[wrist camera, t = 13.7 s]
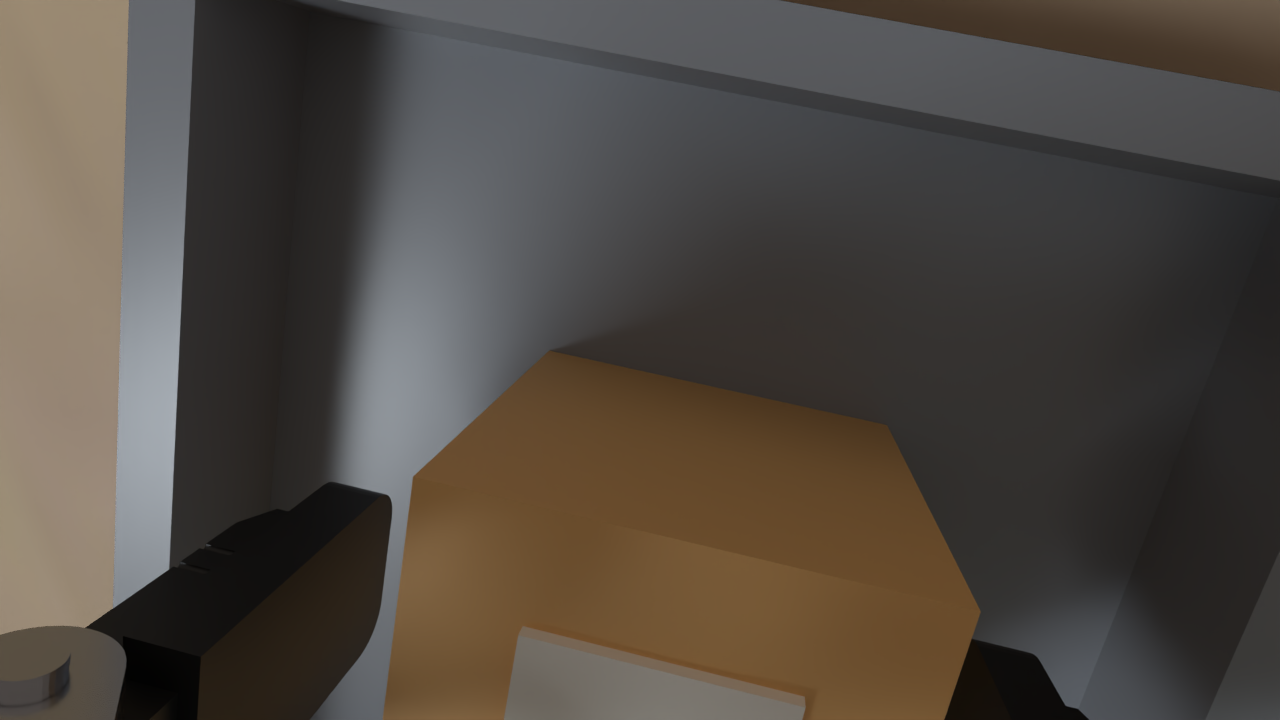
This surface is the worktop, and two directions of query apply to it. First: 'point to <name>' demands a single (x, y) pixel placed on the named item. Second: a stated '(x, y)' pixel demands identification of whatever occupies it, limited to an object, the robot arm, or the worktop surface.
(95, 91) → the worktop surface
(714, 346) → the charcoal tray
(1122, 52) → the worktop surface
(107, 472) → the worktop surface
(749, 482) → the orange cube
